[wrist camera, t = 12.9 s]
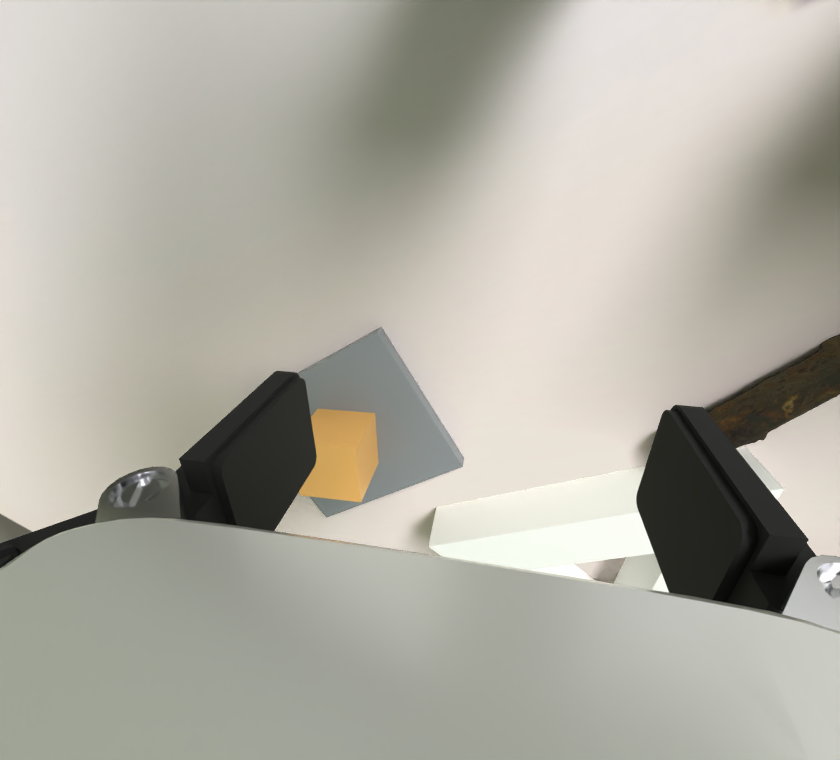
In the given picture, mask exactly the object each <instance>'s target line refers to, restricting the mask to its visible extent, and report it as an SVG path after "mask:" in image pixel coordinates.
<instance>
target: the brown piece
mask: <svg viewBox="0 0 840 760" xmlns="http://www.w3.org/2000/svg"><path fill="white" fill-rule="evenodd" d="M839 394H840V335H838V336H836V337H833V338H831V339H829V340H827V341H825V342H823V343H822V344H821V345H820V350H819V351H818V352H817V353H815V354H814V355H812V356H811V357H809V358H807V359H806V360H804V361H802V362H800V363H798V364H796V365H794V366H792V367H790V368H788V369H786V370H785V371H783V372H781V373H779V374H777V375H775V376H772V377H770V378H768V379H766V380H764V381H763V382H761V383H760V384H759V385H757V386H756V387H754V388H752V389H751V390H749V391H747V392H745V393H743V394H741V395H740V396H738V397H736V398H734V399H732V400H729V401H727V402H725V403H724V404H722V405H720V406H718V407H716V408H714V409H713V410H711V411H710V412H709V413H708V414H709V415H710V416H711V418H712V419H713V420H714V421H715V423H716V424H717V425H718V426H719V428H720V429H721V430H722V431H723V433H724V434H725V435H726V436H727V438H728V439H729V440H730V442H731V443H732V444H733V445H734V447H735V448H738V447H740V446H742V445H746V444H750V443H755V442H756V441H758V440H764V439H765V438H766V436H767V434H768V432H770V431H771V430H774V429H776V428H777V427H779V426H781V425H783V424H785V423H786V422H788V421H790V420H792V419H794V418H796V417H798V416H800V415H802V414H804V413H806V412H807V411H809V410H811V409H813V408H815V407H817V406H819V405H821V404H823V403H824V402H826V401H828V400H830V399H832V398H834V397H837V395H839Z"/></svg>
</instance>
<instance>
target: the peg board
mask: <svg viewBox="0 0 840 760" xmlns="http://www.w3.org/2000/svg"><path fill="white" fill-rule="evenodd" d="M297 374H298V375H299V376H300V378H303V379H304V380H305V383H306V389H307V395H308V402H309V408H310V415H311V416H312V415H313V414H314V412H315V411H316V410H317V409H329V410H342V411H355V412H367V413H375V418H376V433H377V447H378V462H379V463H378V466H377V468H376V470H375V472H374V475H373V477H372V479H371V481H370V484H369V486H368V488H367V490H366V493H365V495H364V497H363V499H362V502H354V501H345V500H337V499H328V498H320V497H311V496H310V498H311V499H312V500H313V501H314V503H315V504H316V505H317V506H318V508H319V509H320V510H321V511H322V513H323V514H324V515H325V516H326V517H329V516H331V515H334V514H337V513H340V512H342V511H345V510H348V509H350V508H353V507H356V506H358V505H361V504H364V503H366V502H369V501H372V500H374V499H377V498H380V497H383V496H385V495H388V494H391V493H393V492H396V491H399V490H401V489H404V488H407V487H409V486H412V485H415V484H418V483H420V482H423V481H426V480H428V479H431V478H434V477H436V476H439V475H442V474H444V473H447V472H450V471H453V470H455V469H458V468H461V467H463V461H464V457H463V456H462V454H461V453H460V451H459V449H458V448H457V446H456V445H455V443H454V441H453V440H452V438H451V437H450V435H449V434H448V432H447V430H446V429H445V427H444V426H443V424H442V422H441V421H440V419H439V418H438V416H437V415H436V413H435V411H434V410H433V408H432V407H431V405H430V403H429V402H428V400H427V399H426V397H425V396H424V394H423V392H422V391H421V389H420V388H419V386H418V384H417V383H416V381H415V380H414V378H413V376H412V375H411V373H410V372H409V370H408V369H407V367H406V365H405V364H404V362H403V361H402V359H401V357H400V356H399V354H398V353H397V351H396V350H395V348H394V346H393V345H392V343H391V342H390V340H389V338H388V337H387V335H386V334H385V332H384V331H383V329H382V327H380V328H378V329H377V330H375V331H373V332H371V333H369V334H368V335H366V336H364V337H362V338H360V339H359V340H357V341H355V342H353V343H351V344H350V345H348V346H346V347H344V348H342V349H341V350H339V351H337V352H335V353H333V354H332V355H330V356H328V357H326V358H324V359H323V360H321V361H319V362H317V363H315V364H314V365H312V366H310V367H308V368H306V369H305V370H303V371H301V372H299V373H297Z"/></svg>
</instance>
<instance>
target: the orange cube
mask: <svg viewBox="0 0 840 760" xmlns="http://www.w3.org/2000/svg"><path fill="white" fill-rule="evenodd" d="M311 421H312V428H313V434H314V441H315V448H316V455H317V458H316V464H315V466H314V468H313V470H312V472H311V473H310V475H309V476H308V478H307V479H306V481H305V483H304V484H303V486H302V487H301V489H300V491H299V493H300V495H303V496H311V497H320V498H328V499H337V500H345V501H354V502H362V499H363V497H364V495H365V493H366V490H367V488H368V486H369V484H370V481H371V479H372V477H373V475H374V472H375V470H376V468H377V466H378V463H379V462H378V447H377V433H376V418H375V413H367V412H355V411H342V410H329V409H317V410H316V411H315V412H314V414H313V415H312V416H311Z"/></svg>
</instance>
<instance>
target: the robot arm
mask: <svg viewBox="0 0 840 760" xmlns="http://www.w3.org/2000/svg"><path fill="white" fill-rule="evenodd" d="M316 458H317V455H316V448H315V441H314V434H313V428H312V421H311V415H310V408H309V402H308V395H307V389H306V383H305V380H304V379H303V378H300V376H299V375H298V374H297V373H294V372H283V371H276V372H274V373H273V374H272V375H271V376H270V377H269V378H268V379H266V380H265V381H264V382H263V383H262V384H261V385H260V386H259V387H258V388H257V389H255V390H254V391H253V392H252V393H251V394H250V395H249V396H248V397H247V398H246V399H244V400H243V401H242V402H241V403H240V404H239V405H238V406H237V407H236V408H235V409H233V410H232V411H231V412H230V413H229V414H228V415H227V416H226V417H225V418H224V419H222V420H221V421H220V422H219V423H218V424H217V425H216V426H215V427H214V428H212V429H211V430H210V431H209V432H208V433H207V434H206V435H205V436H204V437H203V438H201V439H200V440H199V441H198V442H197V443H196V444H195V445H194V446H193V447H192V448H190V449H189V450H188V451H187V452H186V453H185V454H184V455H183V456H182V457H181V458H179V460H180V463H181V467H180V468H179V469H178V470H176V471H173V470H172V469H170V468H166V467H149V468H144V469H140V470H137V471H134V472H132V473H129V474H127V475H125V476H123V477H121V478H119V479H118V480H116V481H115V482H114V483H112V484H111V485H110V486H108V487H107V489H106V490H105V491H104V492H103V493H102V495H101V497H100V500H99V504H98V509H97V510H94V511H92V512H89V513H86V514H83V515H80V516H77V517H74V518H72V519H69V520H66V521H63V522H60V523H57V524H54V525H52V526H49V527H46V528H43V529H40V530H37V531H34V532H32V533H29V534H26V535H23V536H20V537H17V538H15V539H12V540H9V541H6V542H3V543H0V760H840V557H837V556H826V555H820V556H816V555H815V553H814V552H813V551H812V550H811V548H810V547H809V546H808V544H807V541H808V538H807V537H806V536H805V535H804V533H803V532H802V531H801V530H800V528H799V527H798V526H797V524H796V523H795V522H794V521H793V519H792V518H791V517H790V516H789V514H788V513H787V512H786V511H785V509H784V508H783V507H782V506H781V504H780V503H779V502H778V501H777V499H776V498H775V497H774V496H773V494H772V493H771V492H770V491H769V489H768V488H767V487H766V486H765V484H764V483H763V482H762V480H761V479H760V478H759V477H758V475H757V474H756V473H755V472H754V470H753V469H752V468H751V467H750V465H749V464H748V463H747V462H746V460H745V459H744V458H743V457H742V455H741V454H740V453H739V452H738V450H737V449H736V448H735V447H734V445H733V444H732V443H731V442H730V440H729V439H728V438H727V436H726V435H725V434H724V433H723V431H722V430H721V429H720V428H719V426H718V425H717V424H716V423H715V421H714V420H713V419H712V418H711V416H710V415H709V414H708V413H707V411H706V410H705V409H704V408H703V407H693V406H682V405H675V406H673V407H672V409H671V410H665V411H664V412H663V414H662V417H661V420H660V423H659V426H658V429H657V432H656V435H655V438H654V441H653V445H652V448H651V451H650V454H649V457H648V460H647V463H646V466H645V469H644V473H643V476H642V479H641V482H640V485H639V488H638V491H637V496H636V503H637V508H638V511H639V514H640V516H641V519H642V522H643V524H644V527H645V530H646V532H647V535H648V538H649V540H650V543H651V546H652V548H653V551H654V554H655V556H656V559H657V562H658V564H659V567H660V570H661V572H662V575H663V578H664V580H665V583H666V586H667V588H668V591H669V593H668V592H662V591H656V590H650V589H644V588H638V587H632V586H626V585H620V584H613V583H607V582H601V581H595V580H588V579H582V578H576V577H570V576H563V575H557V574H551V573H544V572H538V571H532V570H526V569H519V568H513V567H507V566H500V565H494V564H488V563H481V562H475V561H468V560H462V559H455V558H449V557H442V556H436V555H429V554H423V553H416V552H410V551H403V550H397V549H390V548H384V547H377V546H371V545H364V544H357V543H350V542H344V541H337V540H330V539H323V538H317V537H310V536H303V535H296V534H290V533H283V532H276V531H274V530H275V529H276V527H277V525H278V524H279V522H280V521H281V519H282V518H283V516H284V514H285V513H286V511H287V510H288V508H289V506H290V505H291V503H292V502H293V500H294V499H295V497H296V495H297V494H298V492H299V491H300V489H301V487H302V486H303V484H304V483H305V481H306V479H307V478H308V476H309V475H310V473H311V472H312V470H313V468H314V466H315V464H316Z"/></svg>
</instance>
